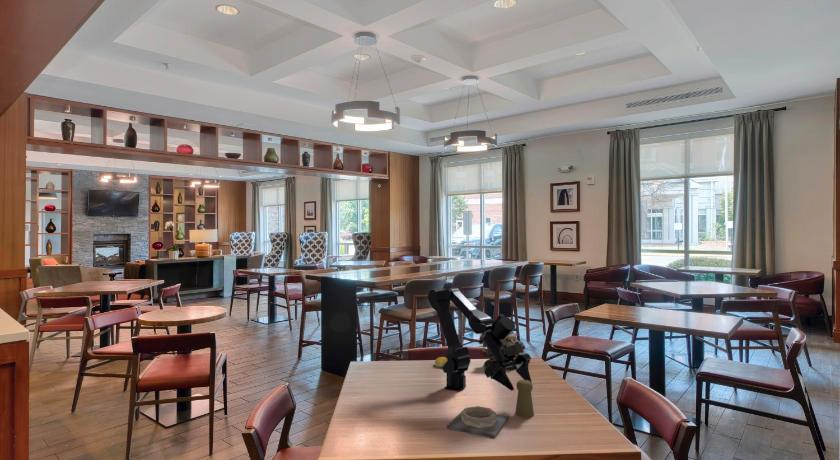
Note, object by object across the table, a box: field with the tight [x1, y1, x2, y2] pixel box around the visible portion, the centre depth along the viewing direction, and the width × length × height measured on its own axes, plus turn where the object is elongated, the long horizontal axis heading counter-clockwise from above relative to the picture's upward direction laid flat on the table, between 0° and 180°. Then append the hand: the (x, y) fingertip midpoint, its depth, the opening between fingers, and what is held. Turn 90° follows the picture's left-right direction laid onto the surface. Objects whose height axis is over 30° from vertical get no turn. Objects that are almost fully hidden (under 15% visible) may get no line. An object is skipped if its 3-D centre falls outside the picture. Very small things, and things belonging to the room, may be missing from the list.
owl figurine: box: [481, 334, 521, 371], centre depth 210 cm, size 18×12×17 cm, turn 93°
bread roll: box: [434, 356, 447, 369], centre depth 210 cm, size 8×9×4 cm
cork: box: [514, 379, 535, 419], centre depth 155 cm, size 6×6×11 cm
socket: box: [446, 405, 510, 439], centre depth 148 cm, size 15×15×4 cm
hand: (522, 387), depth 156 cm, fingers open, 9 cm apart
